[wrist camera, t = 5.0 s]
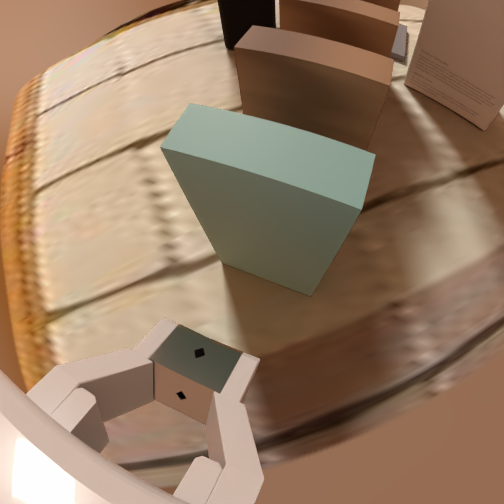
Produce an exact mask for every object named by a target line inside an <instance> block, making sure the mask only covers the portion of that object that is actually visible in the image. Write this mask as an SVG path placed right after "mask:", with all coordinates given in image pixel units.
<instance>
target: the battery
mask: <svg viewBox="0 0 504 504" xmlns="http://www.w3.org/2000/svg"><path fill="white" fill-rule="evenodd" d="M218 5H219V11H220V17H221V23H222V29H223V35H224V41H225V46H226V48H228V49H234V46H235V45H236V44H237V43H238V42H239V40H240V39H241V38H242V37H243V36H244V35H245V34H246V32H247V31H248V30H249V29H250V28H251V27H252V26H253V25H255V26H262V27H269V28H275V29H276V19H275V0H218Z"/></svg>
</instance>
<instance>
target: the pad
mask: <svg viewBox="0 0 504 504" xmlns="http://www.w3.org/2000/svg"><path fill="white" fill-rule="evenodd" d="M406 34H407V26H404V25H402V24H399V26H398V30H397V33H396V37H395V41H394V44H393V47H392V51H391V54H390V57H392V58H395V59H398V60H400V61H403V60H404V57H405V47H406Z"/></svg>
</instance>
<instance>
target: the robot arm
mask: <svg viewBox="0 0 504 504" xmlns="http://www.w3.org/2000/svg"><path fill="white" fill-rule="evenodd" d="M259 362H260V359H259V358H257V357H254V356H252V355H249V354H247V353H244V352H242V351H239V350H237V349H234V348H232V347H230V346H227V345H225V344H222V343H220V342H217V341H215V340H213V339H209V338H207V337H205V336H203V335H201V334H199V333H197V332H195V331H193V330H191V329H189V328H187V327H185V326H183V325H181V324H178V323H176V322H174V321H172V320H170V319H168V318H166V317H165V318H163V319H161V320H160V321H159V322H158V323H157V324H156V325H155V326H154V327H153V328H152V329H151V330H150V332H149V333H148V334H147V335H146V336H145V337H144V338H143V339H142V340H141V341H140V342H139V343H138V344H137V345H136V347H135V348H134V349H133V350H131V349H129V348H126V349H122V350H118V351H115V352H111V353H107V354H103V355H99V356H95V357H91V358H87V359H83V360H79V361H74V362H70V363H66V364H62V365H57V366H55V367H54V368H53V369H52V370H51V371H50V372H49V373H48V374H47V375H46V376H45V377H43V378H42V379H41V380H40V381H39V382H38V383H37V384H36V385H35V386H34V387H33V388H32V389H31V390H30V391H29V392H28V393H27V394H25V393H23V392H22V391H21V390H20V389H19V388H18V387H17V386H16V385H15V384H14V383H13V382H12V381H11V380H10V379H9V378H8V377H7V376H6V375H5V374H4V373H3V372H2V371H1V369H0V504H254V503H255V501H256V498H257V496H258V494H259V491H260V488H261V486H262V483H263V481H264V476H263V473H262V469H261V465H260V461H259V458H258V454H257V450H256V446H255V442H254V438H253V434H252V430H251V426H250V422H249V418H248V414H247V410H246V406H245V404H243V402H244V400H245V397H246V395H247V393H248V390H249V388H250V385H251V383H252V380H253V378H254V375H255V373H256V370H257V368H258V365H259ZM154 400H156V401H158V402H160V403H162V404H164V405H166V406H168V407H170V408H173V409H175V410H177V411H179V412H181V413H183V414H185V415H187V416H189V417H191V418H193V419H195V420H197V421H199V422H201V423H203V424H205V425H206V426H205V427H206V436H207V445H208V453H209V459H208V458H206V457H204V456H200V457H197V458H195V459H194V461H193V463H192V464H191V466H190V468H189V469H188V471H187V473H186V474H185V476H184V478H183V479H182V481H181V483H180V484H179V486H178V488H177V489H176V491H175V493H174V494H173V495H171V494H169V493H167V492H165V491H163V490H161V489H159V488H157V487H155V486H153V485H151V484H150V483H148V482H146V481H144V480H142V479H140V478H139V477H137V476H135V475H133V474H132V473H130V472H128V471H127V470H125V469H123V468H122V467H120V466H118V465H117V464H115V463H114V462H112V461H110V460H109V459H107V458H106V457H104V456H103V455H101V454H100V453H101V451H102V450H103V449H104V447H105V446H106V445H107V443H108V442H109V438H108V435H107V432H106V429H105V426H104V423H103V422H105V421H107V420H110V419H112V418H115V417H117V416H120V415H122V414H124V413H127V412H129V411H132V410H134V409H136V408H139V407H141V406H143V405H145V404H148V403H150V402H152V401H154Z"/></svg>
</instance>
